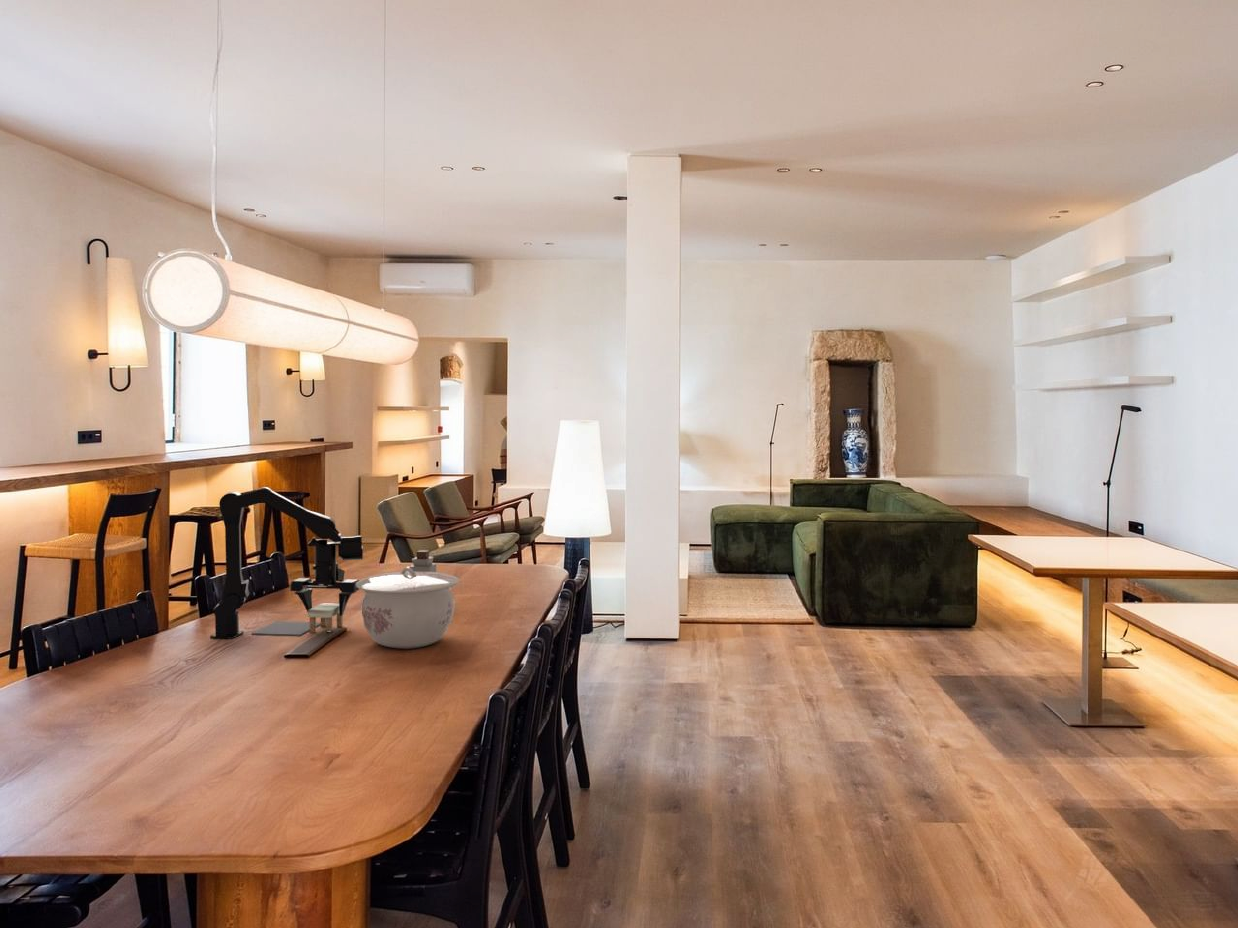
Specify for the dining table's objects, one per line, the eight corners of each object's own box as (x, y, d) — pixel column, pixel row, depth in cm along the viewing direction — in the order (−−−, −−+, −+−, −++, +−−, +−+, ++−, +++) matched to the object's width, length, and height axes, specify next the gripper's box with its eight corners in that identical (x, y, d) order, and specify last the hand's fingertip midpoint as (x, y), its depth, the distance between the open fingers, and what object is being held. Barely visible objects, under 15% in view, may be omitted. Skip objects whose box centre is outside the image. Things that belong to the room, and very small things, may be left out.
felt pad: (300, 635, 238) (300, 634, 238) (251, 634, 239) (251, 633, 239) (321, 623, 252) (321, 622, 252) (276, 622, 253) (276, 621, 253)
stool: (330, 633, 241) (330, 610, 241) (308, 632, 242) (308, 609, 241) (343, 625, 250) (343, 603, 250) (322, 625, 251) (321, 603, 250)
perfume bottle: (436, 604, 279) (436, 549, 278) (429, 609, 272) (429, 552, 271) (416, 604, 280) (416, 549, 279) (409, 608, 273) (408, 552, 272)
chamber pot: (435, 659, 216) (435, 577, 215) (335, 652, 221) (334, 573, 220) (476, 632, 243) (475, 559, 242) (386, 627, 249) (385, 556, 248)
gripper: (367, 557, 252) (368, 609, 253) (306, 555, 254) (307, 608, 254) (352, 563, 241) (353, 618, 242) (288, 562, 242) (289, 616, 243)
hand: (325, 615), depth 246 cm, fingers open, 9 cm apart
